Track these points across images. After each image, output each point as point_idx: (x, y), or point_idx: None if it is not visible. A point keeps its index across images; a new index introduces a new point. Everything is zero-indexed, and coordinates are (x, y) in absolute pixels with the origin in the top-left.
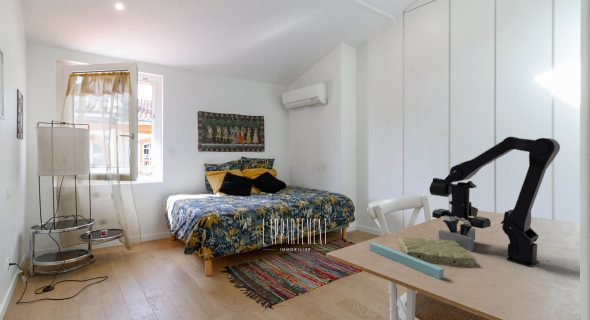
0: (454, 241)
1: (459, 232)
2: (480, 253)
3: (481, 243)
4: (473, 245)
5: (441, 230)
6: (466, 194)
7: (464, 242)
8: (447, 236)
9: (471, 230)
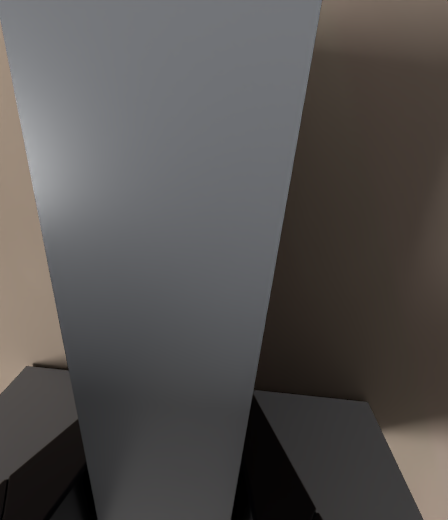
0: None
1: (162, 515)
2: (433, 419)
3: (363, 22)
4: (393, 461)
5: None
6: None
7: None
8: None
9: (284, 191)
